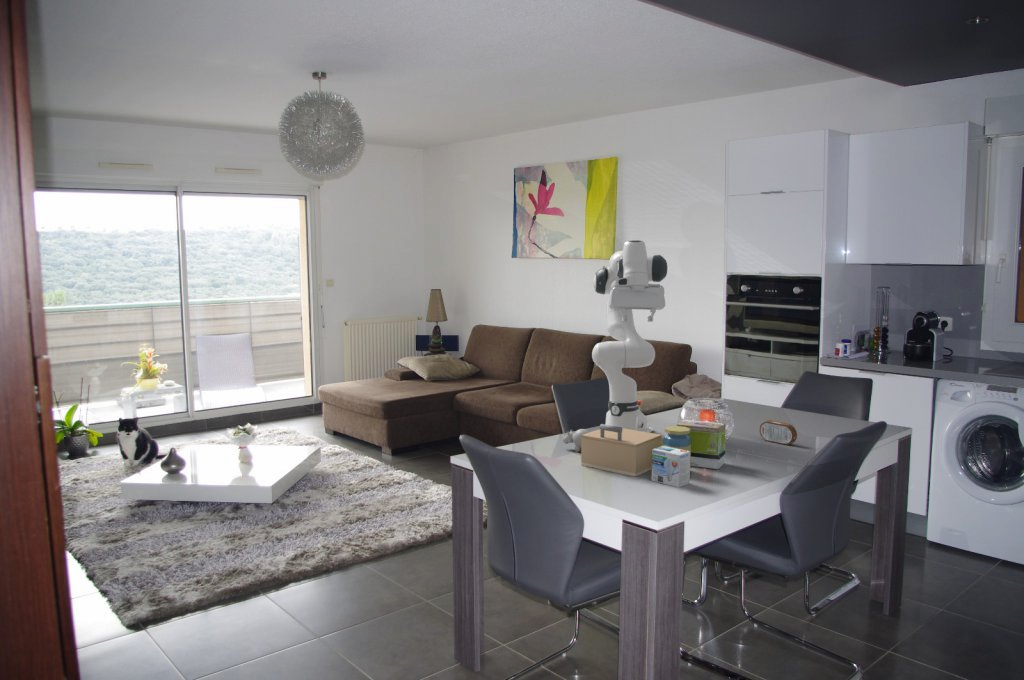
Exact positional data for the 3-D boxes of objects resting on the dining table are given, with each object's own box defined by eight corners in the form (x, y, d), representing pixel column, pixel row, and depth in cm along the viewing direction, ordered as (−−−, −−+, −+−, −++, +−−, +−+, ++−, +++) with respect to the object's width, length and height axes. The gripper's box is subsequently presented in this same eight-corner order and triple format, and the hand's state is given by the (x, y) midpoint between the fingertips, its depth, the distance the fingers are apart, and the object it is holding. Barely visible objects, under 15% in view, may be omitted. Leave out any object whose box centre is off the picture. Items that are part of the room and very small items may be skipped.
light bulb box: (650, 480, 242) (651, 448, 241) (662, 476, 246) (663, 445, 245) (678, 487, 234) (679, 454, 233) (690, 483, 239) (691, 450, 238)
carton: (608, 454, 274) (608, 428, 273) (661, 464, 260) (662, 437, 259) (581, 465, 260) (581, 437, 259) (635, 476, 246) (635, 447, 245)
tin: (797, 445, 286) (797, 424, 285) (792, 447, 284) (793, 425, 283) (762, 438, 297) (762, 418, 296) (758, 440, 295) (758, 419, 294)
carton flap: (608, 428, 273) (609, 413, 272) (662, 436, 259) (662, 421, 258) (581, 437, 259) (581, 422, 259) (635, 447, 245) (635, 431, 245)
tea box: (725, 463, 262) (726, 422, 260) (717, 470, 253) (718, 428, 252) (684, 457, 269) (684, 418, 268) (675, 464, 261) (676, 423, 259)
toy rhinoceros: (567, 446, 287) (567, 424, 286) (595, 450, 281) (595, 428, 280) (558, 450, 281) (558, 428, 280) (586, 454, 275) (586, 432, 274)
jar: (661, 467, 257) (661, 425, 255) (687, 467, 256) (688, 425, 255) (665, 475, 248) (666, 431, 246) (693, 475, 247) (693, 431, 246)
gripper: (661, 286, 268) (662, 323, 266) (606, 285, 265) (607, 322, 263) (666, 281, 262) (668, 319, 259) (611, 280, 259) (612, 318, 257)
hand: (637, 321), depth 261 cm, fingers open, 8 cm apart
